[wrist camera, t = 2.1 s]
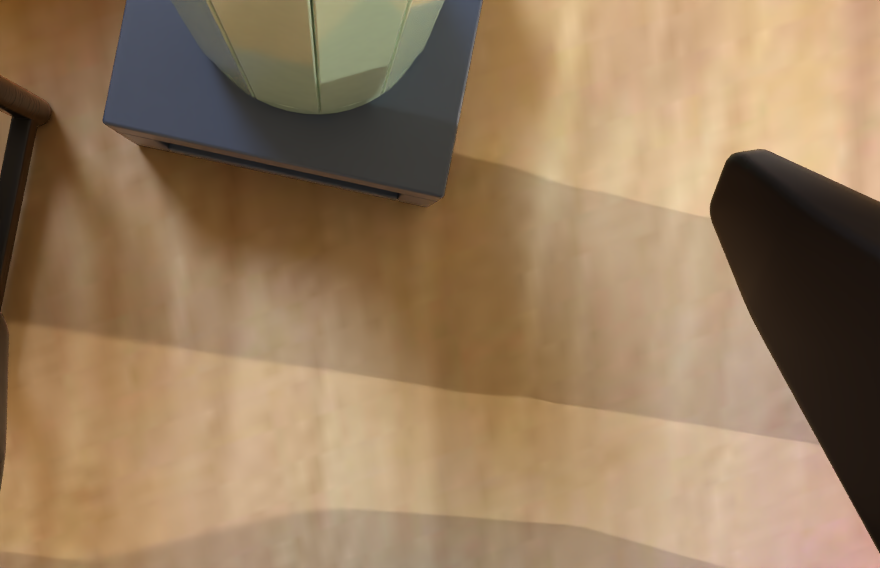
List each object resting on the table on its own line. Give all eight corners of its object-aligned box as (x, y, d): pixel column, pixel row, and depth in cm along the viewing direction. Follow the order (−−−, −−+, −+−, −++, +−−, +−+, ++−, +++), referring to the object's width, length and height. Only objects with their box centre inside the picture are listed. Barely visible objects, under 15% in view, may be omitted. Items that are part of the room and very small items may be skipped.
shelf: (428, 207, 21) (457, 190, 16) (135, 144, 20) (69, 104, 15) (483, -69, 21) (529, -172, 16) (194, -152, 20) (148, -291, 15)
